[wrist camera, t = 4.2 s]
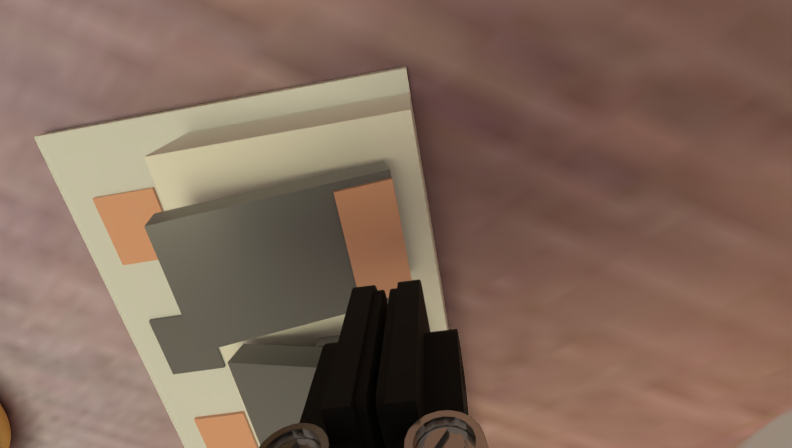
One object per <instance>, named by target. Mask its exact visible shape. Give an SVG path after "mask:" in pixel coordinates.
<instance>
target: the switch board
mask: <svg viewBox="0 0 792 448" xmlns="http://www.w3.org/2000/svg"><path fill="white" fill-rule="evenodd" d="M34 138H35V140H36V143H37V145H38V147H39V149H40V151H41V153H42V155H43V157H44V159H45V161H46V163H47V165H48V167H49V169H50V171H51V173H52V175H53V178H54V180H55V182H56V184H57V186H58V188H59V190H60V192H61V194H62V196H63V198H64V200H65V202H66V204H67V206H68V208H69V210H70V213H71V215H72V217H73V219H74V221H75V223H76V225H77V227H78V229H79V231H80V233H81V235H82V237H83V239H84V241H85V243H86V245H87V248H88V250H89V252H90V254H91V256H92V258H93V260H94V262H95V264H96V266H97V268H98V270H99V272H100V274H101V276H102V278H103V280H104V283H105V285H106V287H107V289H108V291H109V293H110V295H111V297H112V299H113V301H114V303H115V305H116V307H117V309H118V311H119V313H120V315H121V318H122V320H123V322H124V324H125V326H126V328H127V330H128V332H129V334H130V336H131V338H132V340H133V342H134V344H135V346H136V348H137V350H138V353H139V355H140V357H141V359H142V361H143V363H144V365H145V367H146V369H147V371H148V373H149V375H150V377H151V379H152V381H153V383H154V385H155V388H156V390H157V392H158V394H159V396H160V398H161V400H162V402H163V404H164V406H165V408H166V410H167V412H168V414H169V416H170V418H171V420H172V423H173V425H174V427H175V429H176V431H177V433H178V435H179V437H180V439H181V441H182V443H183V445H184V447H185V448H259V447H260V443H259V441H258V438H257V436H256V433H255V431H254V428H253V426H252V423H251V421H250V418H249V416H248V413H247V411H246V408H245V406H244V403H243V401H242V398H241V396H240V393H239V391H238V388H237V386H236V383H235V381H234V378H233V376H232V373H231V371H230V368H229V365H228V363H227V362H228V361H229V360H230V359H231V358H232V356H233V355H234V354H235V353H236V352H237V351H238V349H239V348H240V347H241V346H242V345H243V344H264V345H288V346H311V347H323V346H324V345H325V344H326V343H334V342H338V340H339V336H340V332H341V329H342V325H343V321H344V318H345V314H343V315H340V316H336V317H332V318H328V319H325V320H321V321H317V322H313V323H309V324H306V325H302V326H298V327H294V328H291V329H287V330H283V331H279V332H276V333H272V334H268V335H264V336H260V337H257V338H253V339H249V340H245V341H242V342H238V343H234V344H230V345H226V346H223V347H219V348H215V349H211V350H208V351H204V352H200V353H198V352H197V350H196V347H195V345H194V343H193V340H192V338H191V335H190V333H189V331H188V328H187V326H186V324H185V321H184V319H183V317H182V314H181V312H180V310H179V307H178V305H177V303H176V300H175V298H174V295H173V293H172V291H171V288H170V286H169V284H168V281H167V279H166V277H165V274H164V272H163V270H162V267H161V265H160V263H159V260H158V258H157V255H156V253H155V251H154V248H153V246H152V244H151V241H150V239H149V237H148V234H147V232H146V230H145V227H144V226H145V225H146V223H147V222H148V221H149V219H150V218H151V217H152V216H153V214H154V213H158V212H163V211H167V210H171V209H176V208H180V207H184V206H189V205H193V204H197V203H202V202H206V201H210V200H215V199H219V198H223V197H228V196H232V195H236V194H241V193H245V192H249V191H254V190H258V189H262V188H267V187H271V186H275V185H280V184H284V183H288V182H293V181H297V180H301V179H306V178H310V177H314V176H319V175H323V174H327V173H332V172H336V171H340V170H345V169H349V168H353V167H358V166H362V165H366V164H371V163H375V162H379V161H385V163H386V164H387V166H388V167H389V168H390V172H391V177H392V179H393V185H394V190H395V195H396V200H397V205H398V211H399V216H400V221H401V226H402V232H403V237H404V242H405V247H406V252H407V258H408V263H409V268H410V273H411V279H412V280H419V279H420V280H421V284H422V289H423V294H424V300H425V305H426V311H427V316H428V322H429V327H430V332H435V331H444V330H449V326H448V320H447V314H446V308H445V302H444V296H443V289H442V283H441V277H440V271H439V265H438V259H437V253H436V247H435V240H434V234H433V228H432V222H431V216H430V210H429V204H428V198H427V192H426V185H425V179H424V173H423V167H422V161H421V155H420V149H419V143H418V137H417V130H416V124H415V118H414V112H413V106H412V100H411V94H410V88H409V82H408V75H407V69H406V66H403V67H398V68H392V69H387V70H382V71H376V72H371V73H365V74H360V75H355V76H349V77H344V78H338V79H333V80H328V81H322V82H317V83H312V84H306V85H301V86H295V87H290V88H285V89H279V90H274V91H268V92H263V93H258V94H252V95H247V96H242V97H236V98H231V99H225V100H220V101H215V102H209V103H204V104H198V105H193V106H188V107H182V108H177V109H172V110H166V111H161V112H155V113H150V114H145V115H139V116H134V117H128V118H123V119H118V120H112V121H107V122H102V123H96V124H91V125H85V126H80V127H75V128H69V129H64V130H58V131H53V132H48V133H44V134H41V135H38V136H35V137H34Z"/></svg>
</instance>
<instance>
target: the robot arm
mask: <svg viewBox="0 0 792 448" xmlns="http://www.w3.org/2000/svg"><path fill="white" fill-rule="evenodd" d="M259 448H489V447H488V444H487V441H486V438H485V435H484V432H483V430H482V429H481V427H480V425H479V423H477V422H476V421H475V420H474V419H473V418H472V417H471V416H469V415H468V405H467V395H466V385H465V377H464V369H463V362H462V355H461V349H460V342H459V336H458V331H457V329H453V330H444V331H435V332H430V327H429V322H428V316H427V311H426V305H425V300H424V294H423V289H422V284H421V280H420V279H419V280H411V281H403V282H398V284H397V288H394V289H390V293H389V300H388V302H387V297H386V293H385V291H384V290H377V288H376V286H375V285H371V286H363V287H355V288H353V289H352V292H351V295H350V299H349V303H348V306H347V310H346V314H345V318H344V321H343V325H342V329H341V332H340V336H339V340H338V342H334V343H326V344H325V345H324V346H323V348H322V351H321V354H320V358H319V361H318V364H317V367H316V371H315V374H314V377H313V380H312V383H311V387H310V390H309V393H308V396H307V400H306V403H305V406H304V409H303V413H302V416H301V419H300V422H299V423H297V424H292V425H289V426H286V427H283V428H281V429H279V430H278V431H276V432H274V433H273V434H271V435H270V436H269V437H268V438H267V439H266V440H265V441H263V443H262V444H261V445H260V447H259Z"/></svg>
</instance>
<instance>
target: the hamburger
mask: <svg viewBox="0 0 792 448" xmlns="http://www.w3.org/2000/svg"><path fill="white" fill-rule="evenodd" d="M10 441H11V429H10V423H9V420H8V418H7V415H6V413H5V411H4V409H3V407H2V406H1V404H0V448H9V447H10Z"/></svg>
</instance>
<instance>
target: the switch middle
mask: <svg viewBox="0 0 792 448" xmlns="http://www.w3.org/2000/svg"><path fill="white" fill-rule="evenodd" d="M322 348H323V347H311V346H288V345H264V344H243V345H242V346H241V347H240V348H239V349H238V351H237V352H236V353H235V354H234V355H233V356H232V358H231V359H230V360H229V361H228V362H227V363H228V365H229V368H230V371H231V373H232V376H233V378H234V381H235V383H236V386H237V388H238V391H239V393H240V396H241V398H242V401H243V403H244V406H245V408H246V411H247V413H248V416H249V418H250V421H251V423H252V426H253V428H254V431H255V433H256V436H257V438H258V441H259V443H260V445H261V444H262V443H263V441H265V440H266V439H267V438H268V437H269V436H270V435H271V434H273V433H274V432H276V431H278V430H279V429H281V428H283V427H286V426H289V425H292V424H297V423H299V422H300V419H301V416H302V413H303V409H304V406H305V403H306V400H307V396H308V393H309V390H310V387H311V383H312V380H313V377H314V374H315V371H316V367H317V364H318V361H319V358H320V354H321V351H322Z"/></svg>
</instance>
